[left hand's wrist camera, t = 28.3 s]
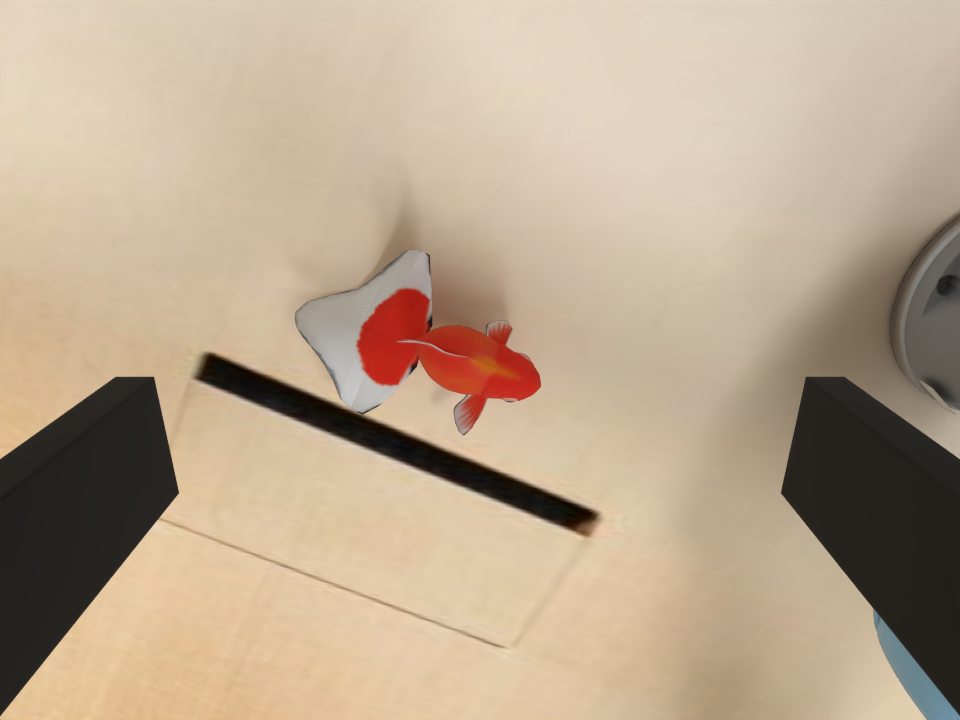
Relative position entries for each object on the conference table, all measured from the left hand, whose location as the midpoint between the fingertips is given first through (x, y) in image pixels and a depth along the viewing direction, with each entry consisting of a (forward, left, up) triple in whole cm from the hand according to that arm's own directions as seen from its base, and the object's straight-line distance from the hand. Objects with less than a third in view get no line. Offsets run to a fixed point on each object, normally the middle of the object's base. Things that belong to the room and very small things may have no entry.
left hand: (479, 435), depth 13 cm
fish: (+7, +5, -29) cm, 30 cm away
